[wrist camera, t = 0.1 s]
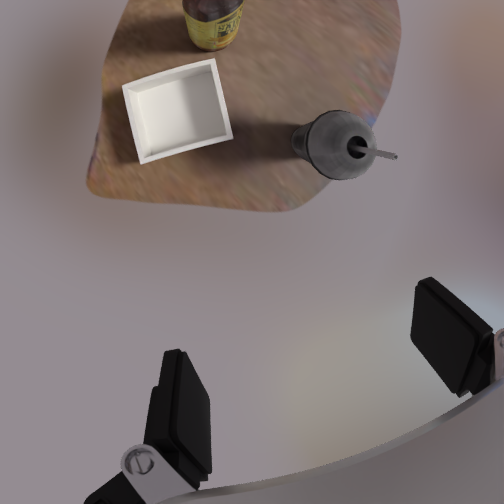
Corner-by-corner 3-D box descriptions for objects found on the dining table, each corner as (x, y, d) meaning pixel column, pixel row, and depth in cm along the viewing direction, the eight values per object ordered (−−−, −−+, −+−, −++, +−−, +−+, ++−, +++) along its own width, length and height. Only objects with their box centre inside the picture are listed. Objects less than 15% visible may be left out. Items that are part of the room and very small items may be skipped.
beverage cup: (289, 108, 35) (355, 87, 17) (337, 126, 37) (429, 128, 19) (274, 158, 38) (327, 181, 20) (323, 174, 39) (404, 210, 21)
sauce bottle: (225, 59, 32) (232, -8, 14) (181, 45, 30) (152, -26, 12) (245, 22, 30) (269, -59, 12) (202, 8, 28) (194, -76, 10)
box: (133, 91, 32) (121, 85, 27) (215, 67, 32) (214, 58, 28) (150, 160, 36) (140, 164, 31) (231, 138, 36) (233, 138, 32)
